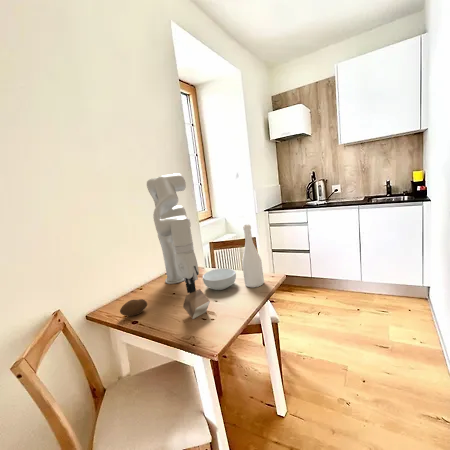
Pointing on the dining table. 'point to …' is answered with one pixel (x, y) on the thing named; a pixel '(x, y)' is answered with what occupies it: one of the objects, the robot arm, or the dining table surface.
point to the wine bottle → (251, 261)
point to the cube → (196, 303)
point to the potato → (133, 307)
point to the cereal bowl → (219, 278)
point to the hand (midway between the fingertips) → (191, 291)
